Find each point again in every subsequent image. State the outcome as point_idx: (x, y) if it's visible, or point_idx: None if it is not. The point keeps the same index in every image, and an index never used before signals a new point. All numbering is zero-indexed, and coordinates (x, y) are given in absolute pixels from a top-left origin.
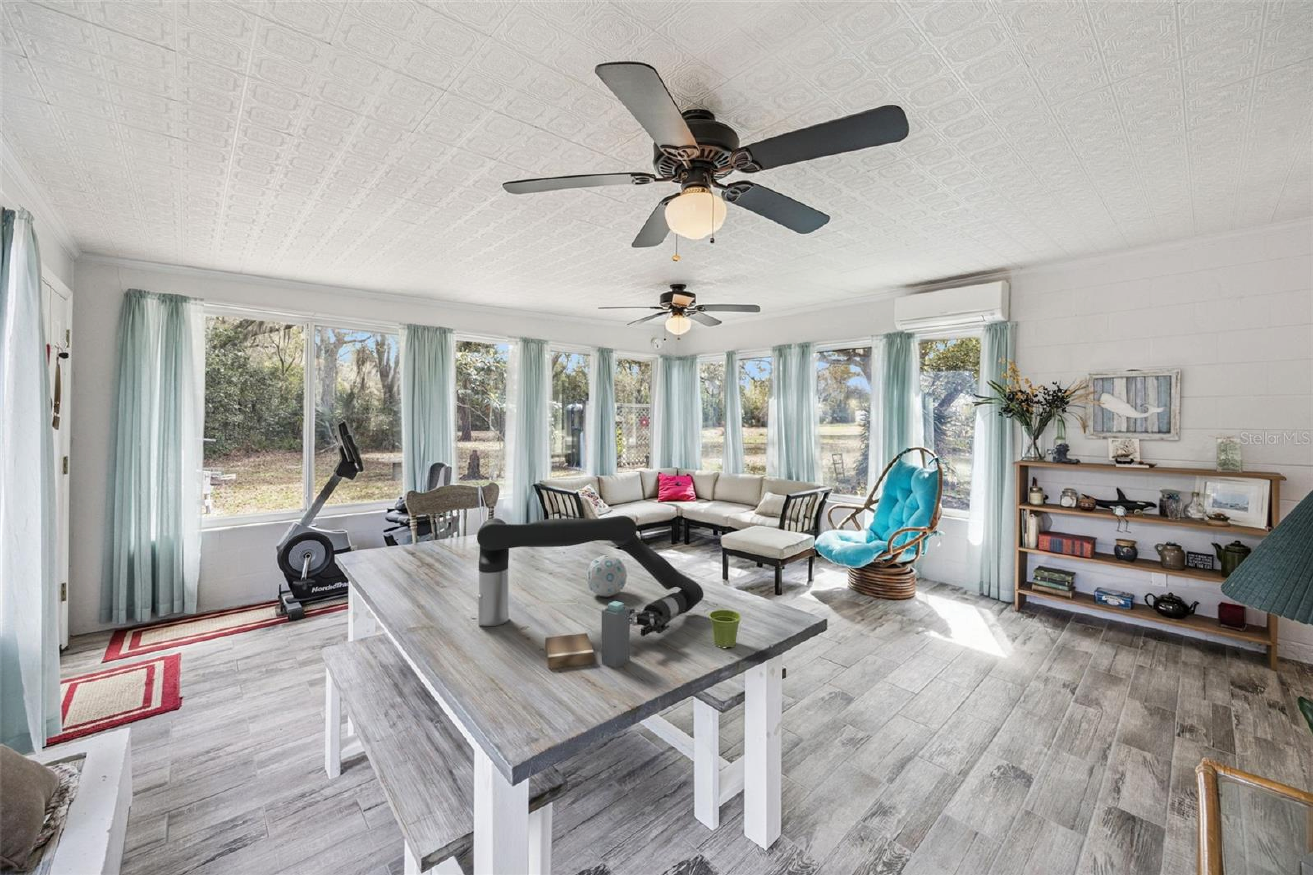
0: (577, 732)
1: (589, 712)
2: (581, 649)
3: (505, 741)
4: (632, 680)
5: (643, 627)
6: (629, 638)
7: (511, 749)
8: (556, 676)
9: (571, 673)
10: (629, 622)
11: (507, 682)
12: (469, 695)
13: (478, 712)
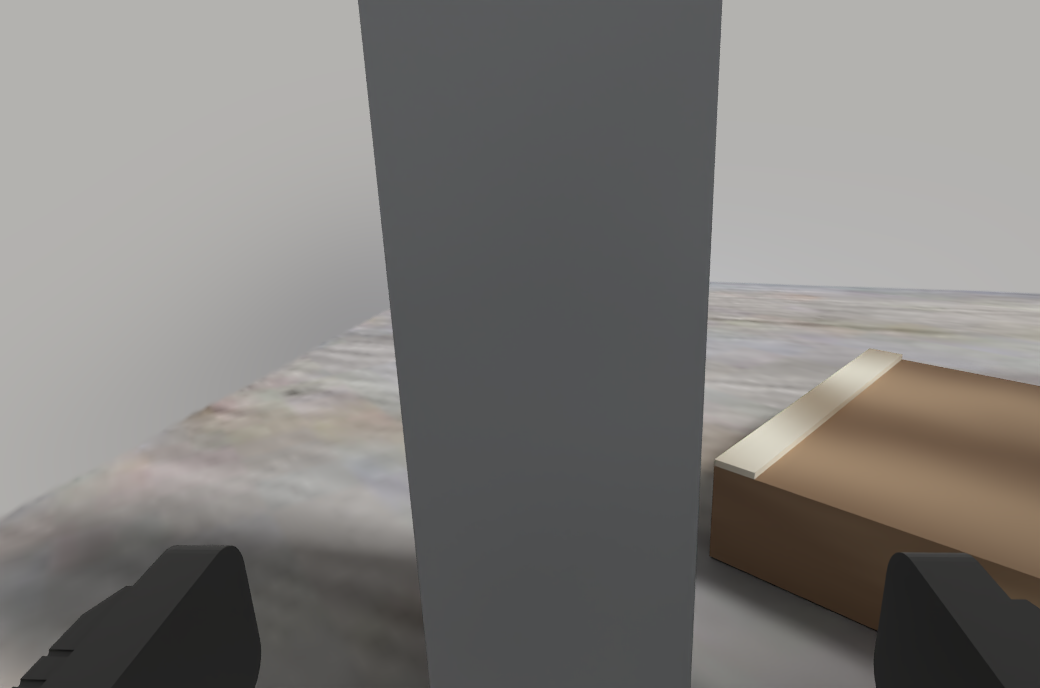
0: (368, 321)
1: (383, 356)
2: (848, 455)
3: None
4: (266, 529)
5: (175, 576)
6: (413, 512)
7: None
8: (738, 408)
9: (703, 443)
10: (389, 271)
11: (848, 339)
12: (837, 296)
13: (710, 287)
